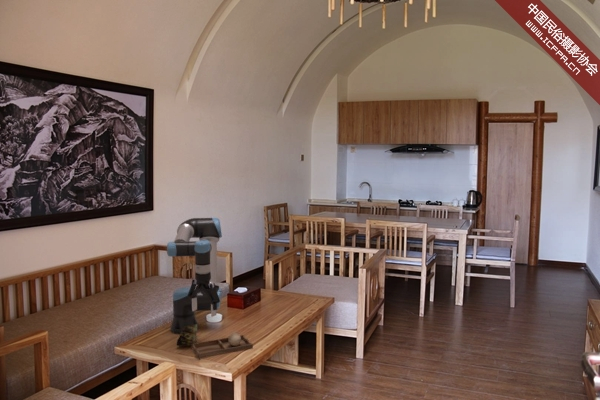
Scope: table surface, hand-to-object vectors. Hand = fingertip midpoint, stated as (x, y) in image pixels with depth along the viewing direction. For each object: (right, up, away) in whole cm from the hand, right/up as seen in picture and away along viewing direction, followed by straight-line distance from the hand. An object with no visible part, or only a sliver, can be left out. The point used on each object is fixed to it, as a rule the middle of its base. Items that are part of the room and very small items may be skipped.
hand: (204, 313), depth 246 cm
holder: (+9, -19, +1) cm, 21 cm away
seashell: (-10, -18, +7) cm, 22 cm away
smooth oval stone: (+15, -17, +4) cm, 23 cm away
